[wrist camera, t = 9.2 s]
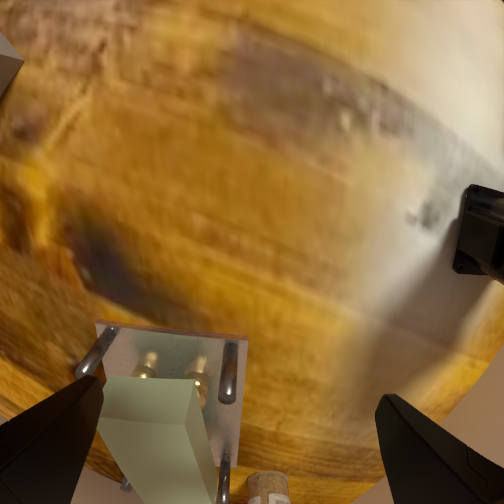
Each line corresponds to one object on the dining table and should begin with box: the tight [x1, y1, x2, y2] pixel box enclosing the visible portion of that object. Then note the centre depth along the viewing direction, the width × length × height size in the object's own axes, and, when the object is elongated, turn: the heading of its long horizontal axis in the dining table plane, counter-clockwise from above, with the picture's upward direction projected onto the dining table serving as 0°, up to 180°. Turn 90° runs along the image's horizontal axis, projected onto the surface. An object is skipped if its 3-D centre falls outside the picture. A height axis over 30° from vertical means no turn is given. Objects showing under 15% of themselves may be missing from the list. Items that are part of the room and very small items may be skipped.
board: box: [96, 375, 218, 504], centre depth 19 cm, size 12×6×4 cm, turn 3°
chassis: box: [75, 319, 248, 504], centre depth 21 cm, size 16×11×6 cm
